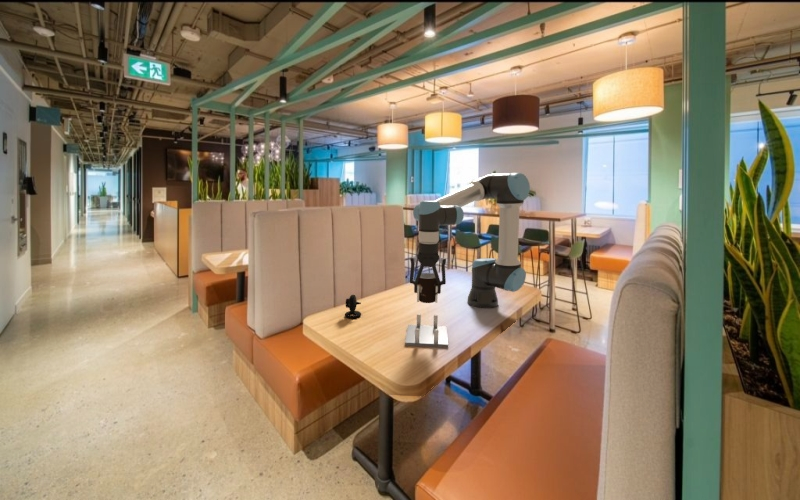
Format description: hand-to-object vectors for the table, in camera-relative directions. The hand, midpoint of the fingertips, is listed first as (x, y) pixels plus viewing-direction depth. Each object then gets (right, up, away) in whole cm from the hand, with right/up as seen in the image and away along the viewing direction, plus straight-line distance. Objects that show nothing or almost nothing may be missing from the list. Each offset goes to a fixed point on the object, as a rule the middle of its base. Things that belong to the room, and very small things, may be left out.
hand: (427, 301), depth 132 cm
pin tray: (0, -15, +3) cm, 15 cm away
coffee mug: (0, 0, 0) cm, 1 cm away
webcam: (-32, -11, +24) cm, 42 cm away
